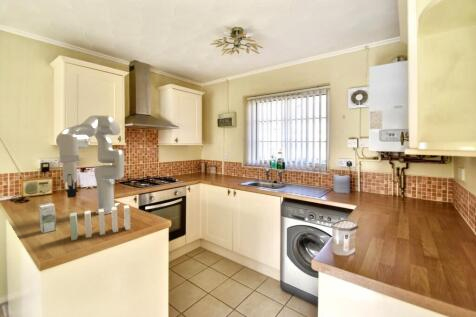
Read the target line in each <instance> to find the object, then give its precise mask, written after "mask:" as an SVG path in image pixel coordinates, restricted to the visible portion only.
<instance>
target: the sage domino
mask: <svg viewBox="0 0 476 317" xmlns="http://www.w3.org/2000/svg"><path fill="white" fill-rule="evenodd" d="M77 214H78V213H77V211H76V212H70V214H69V228H70V230H69V231H70V241H75V240H78V237H79V231H78V230H79V229H78V215H77Z"/></svg>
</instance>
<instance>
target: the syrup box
mask: <svg viewBox="0 0 476 317" xmlns="http://www.w3.org/2000/svg"><path fill="white" fill-rule="evenodd" d="M38 215H39V216H38V217H39V228H40V230H39V231H40V232H41V233H42V234H47V233H51V232H55V231H56V230H57V227H56V226H57V225H56V224H57V219H56V207H55V204H54V203H52V202H49V203H43V204H39V205H38Z"/></svg>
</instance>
